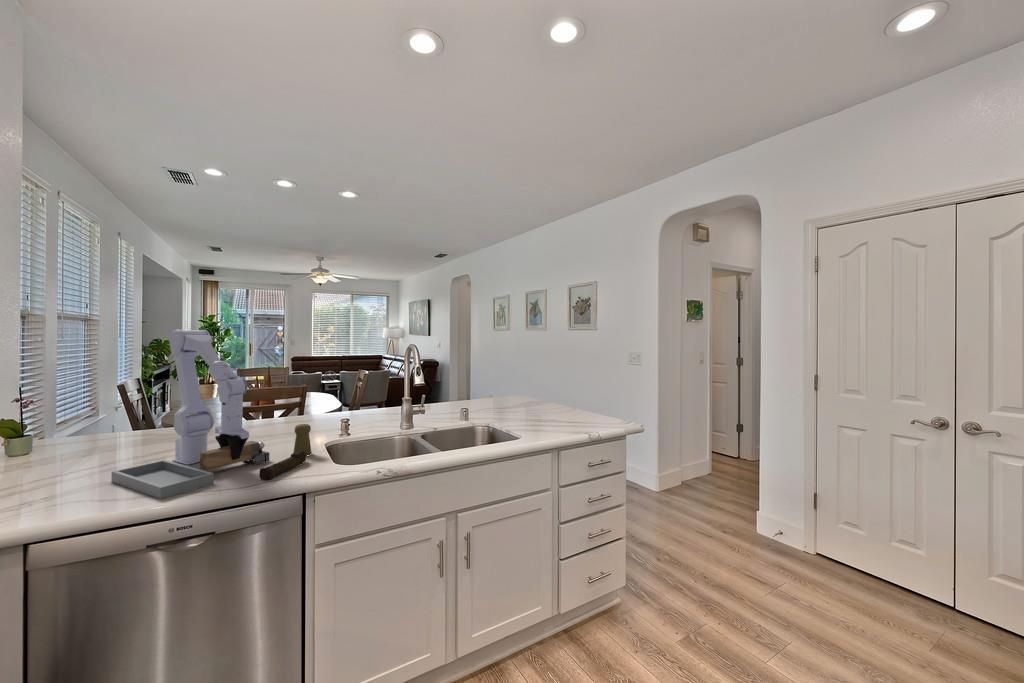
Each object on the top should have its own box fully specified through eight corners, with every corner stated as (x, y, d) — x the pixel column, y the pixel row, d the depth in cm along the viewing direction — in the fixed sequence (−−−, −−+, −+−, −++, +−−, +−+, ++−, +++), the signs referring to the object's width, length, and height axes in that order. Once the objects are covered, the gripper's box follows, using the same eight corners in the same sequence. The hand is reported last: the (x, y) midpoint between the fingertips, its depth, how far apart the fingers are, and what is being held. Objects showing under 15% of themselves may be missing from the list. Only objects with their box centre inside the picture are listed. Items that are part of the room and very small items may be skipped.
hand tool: (269, 481, 126) (270, 466, 126) (258, 480, 127) (258, 465, 127) (312, 463, 144) (312, 449, 144) (302, 462, 145) (302, 448, 145)
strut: (199, 468, 130) (200, 452, 130) (251, 455, 145) (251, 440, 145) (207, 470, 129) (207, 454, 128) (258, 457, 143) (259, 442, 143)
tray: (111, 481, 122) (111, 471, 122) (164, 469, 134) (164, 459, 134) (160, 499, 111) (160, 487, 111) (213, 483, 123) (213, 473, 123)
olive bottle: (297, 452, 155) (297, 422, 155) (314, 452, 156) (314, 422, 155) (289, 457, 149) (290, 426, 149) (307, 457, 149) (308, 426, 149)
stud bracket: (241, 461, 144) (241, 442, 143) (256, 457, 148) (256, 439, 148) (256, 464, 140) (256, 446, 140) (271, 460, 145) (271, 442, 145)
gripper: (205, 415, 136) (204, 457, 136) (233, 420, 130) (232, 464, 130) (228, 411, 142) (227, 452, 143) (255, 416, 136) (255, 458, 136)
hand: (231, 457), depth 137 cm, fingers closed on strut, 4 cm apart
